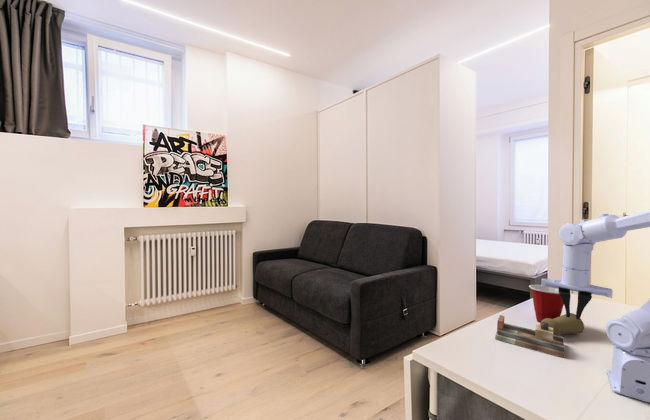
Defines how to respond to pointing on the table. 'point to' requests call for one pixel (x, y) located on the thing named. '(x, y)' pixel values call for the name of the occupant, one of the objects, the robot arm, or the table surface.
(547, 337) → the slider
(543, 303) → the plastic cup
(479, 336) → the table surface
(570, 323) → the brown rounded lump
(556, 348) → the track
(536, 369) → the table surface
